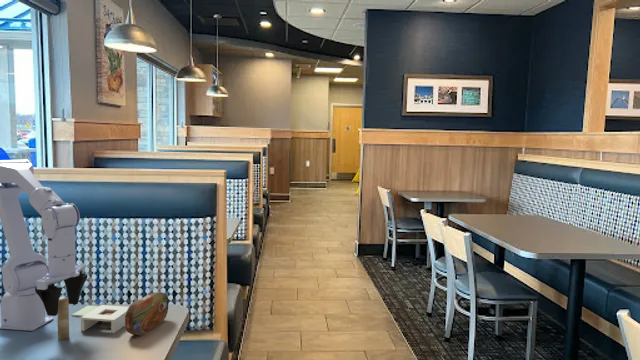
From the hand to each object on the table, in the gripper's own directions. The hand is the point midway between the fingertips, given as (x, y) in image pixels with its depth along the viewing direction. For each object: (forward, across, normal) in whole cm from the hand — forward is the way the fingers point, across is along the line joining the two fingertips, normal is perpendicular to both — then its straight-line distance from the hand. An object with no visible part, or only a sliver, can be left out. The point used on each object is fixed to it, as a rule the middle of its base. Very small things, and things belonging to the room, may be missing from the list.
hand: (63, 309), depth 109 cm
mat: (+7, +16, +4) cm, 18 cm away
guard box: (+7, +9, -6) cm, 13 cm away
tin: (+8, +9, -17) cm, 21 cm away
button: (+6, +9, -6) cm, 12 cm away
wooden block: (+7, 0, 0) cm, 7 cm away
